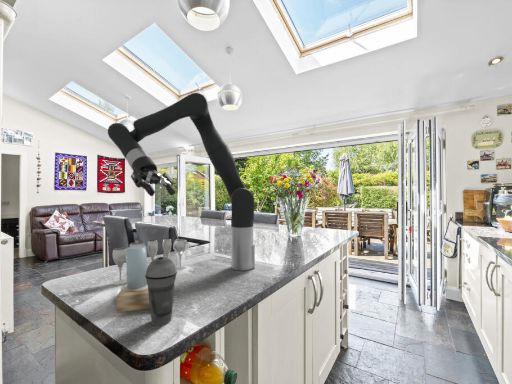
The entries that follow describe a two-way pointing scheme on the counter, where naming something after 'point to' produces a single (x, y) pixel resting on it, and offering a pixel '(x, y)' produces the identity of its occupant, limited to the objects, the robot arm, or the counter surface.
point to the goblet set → (120, 253)
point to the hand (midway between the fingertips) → (163, 194)
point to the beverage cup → (161, 288)
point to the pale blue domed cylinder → (136, 266)
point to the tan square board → (132, 299)
